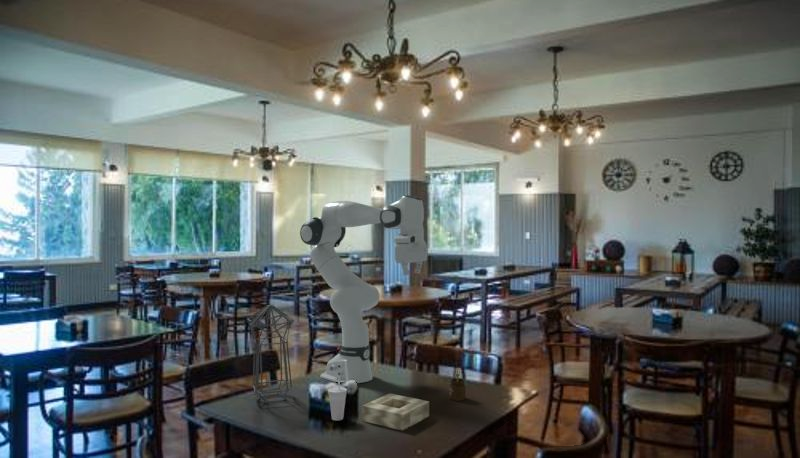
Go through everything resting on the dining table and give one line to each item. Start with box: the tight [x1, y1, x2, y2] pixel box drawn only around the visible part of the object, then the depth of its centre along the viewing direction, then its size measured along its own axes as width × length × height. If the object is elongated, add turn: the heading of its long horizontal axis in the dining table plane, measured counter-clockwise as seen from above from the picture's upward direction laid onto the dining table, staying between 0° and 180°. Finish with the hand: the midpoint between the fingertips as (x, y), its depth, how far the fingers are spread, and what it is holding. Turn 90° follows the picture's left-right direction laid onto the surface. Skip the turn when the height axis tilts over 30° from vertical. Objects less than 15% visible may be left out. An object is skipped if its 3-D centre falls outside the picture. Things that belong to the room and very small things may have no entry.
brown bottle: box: [448, 367, 467, 402], centre depth 207 cm, size 6×6×12 cm
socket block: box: [361, 393, 430, 431], centre depth 186 cm, size 16×16×5 cm
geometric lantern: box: [245, 304, 295, 404], centre depth 206 cm, size 16×16×35 cm
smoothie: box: [327, 376, 348, 421], centre depth 185 cm, size 6×6×14 cm
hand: (412, 274), depth 213 cm, fingers open, 8 cm apart
